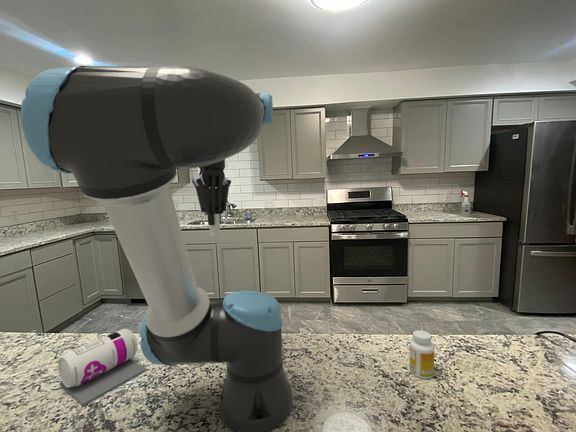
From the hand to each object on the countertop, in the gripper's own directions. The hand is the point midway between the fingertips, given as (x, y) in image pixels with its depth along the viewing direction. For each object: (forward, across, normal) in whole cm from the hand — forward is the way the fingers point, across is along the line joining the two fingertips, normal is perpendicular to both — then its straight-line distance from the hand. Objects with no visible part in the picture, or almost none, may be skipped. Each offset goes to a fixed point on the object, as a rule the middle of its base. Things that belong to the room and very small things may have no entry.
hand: (215, 235), depth 82 cm
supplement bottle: (+33, -15, +54) cm, 65 cm away
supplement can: (+28, +19, -15) cm, 37 cm away
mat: (+32, +27, -12) cm, 44 cm away
